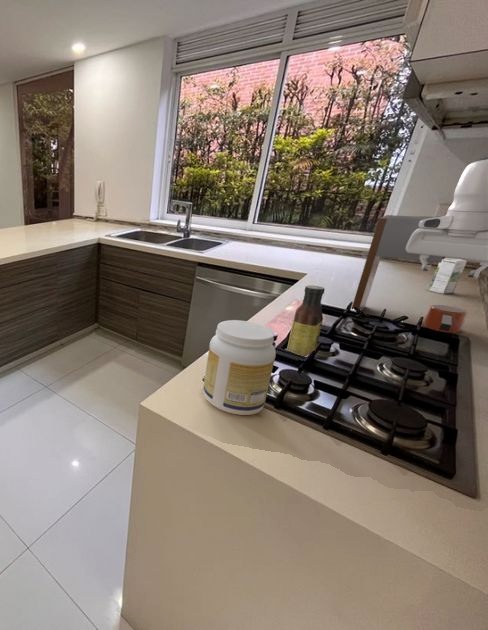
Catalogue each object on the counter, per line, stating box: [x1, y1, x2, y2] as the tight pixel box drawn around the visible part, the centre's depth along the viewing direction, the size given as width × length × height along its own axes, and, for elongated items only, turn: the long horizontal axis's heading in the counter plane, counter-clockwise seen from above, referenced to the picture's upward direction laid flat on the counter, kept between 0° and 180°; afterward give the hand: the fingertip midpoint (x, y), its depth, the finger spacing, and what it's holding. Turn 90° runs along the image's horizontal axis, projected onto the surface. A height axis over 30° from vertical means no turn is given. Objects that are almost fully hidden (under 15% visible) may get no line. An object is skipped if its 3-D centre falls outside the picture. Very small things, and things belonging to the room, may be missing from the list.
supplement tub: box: [202, 319, 277, 416], centre depth 71 cm, size 12×12×17 cm
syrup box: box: [427, 257, 468, 295], centre depth 145 cm, size 6×6×14 cm
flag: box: [351, 214, 446, 311], centre depth 114 cm, size 17×18×34 cm
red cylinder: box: [422, 304, 469, 334], centre depth 105 cm, size 8×21×7 cm, turn 133°
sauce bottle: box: [286, 285, 326, 356], centre depth 88 cm, size 6×6×20 cm
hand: (447, 273), depth 94 cm, fingers open, 8 cm apart
